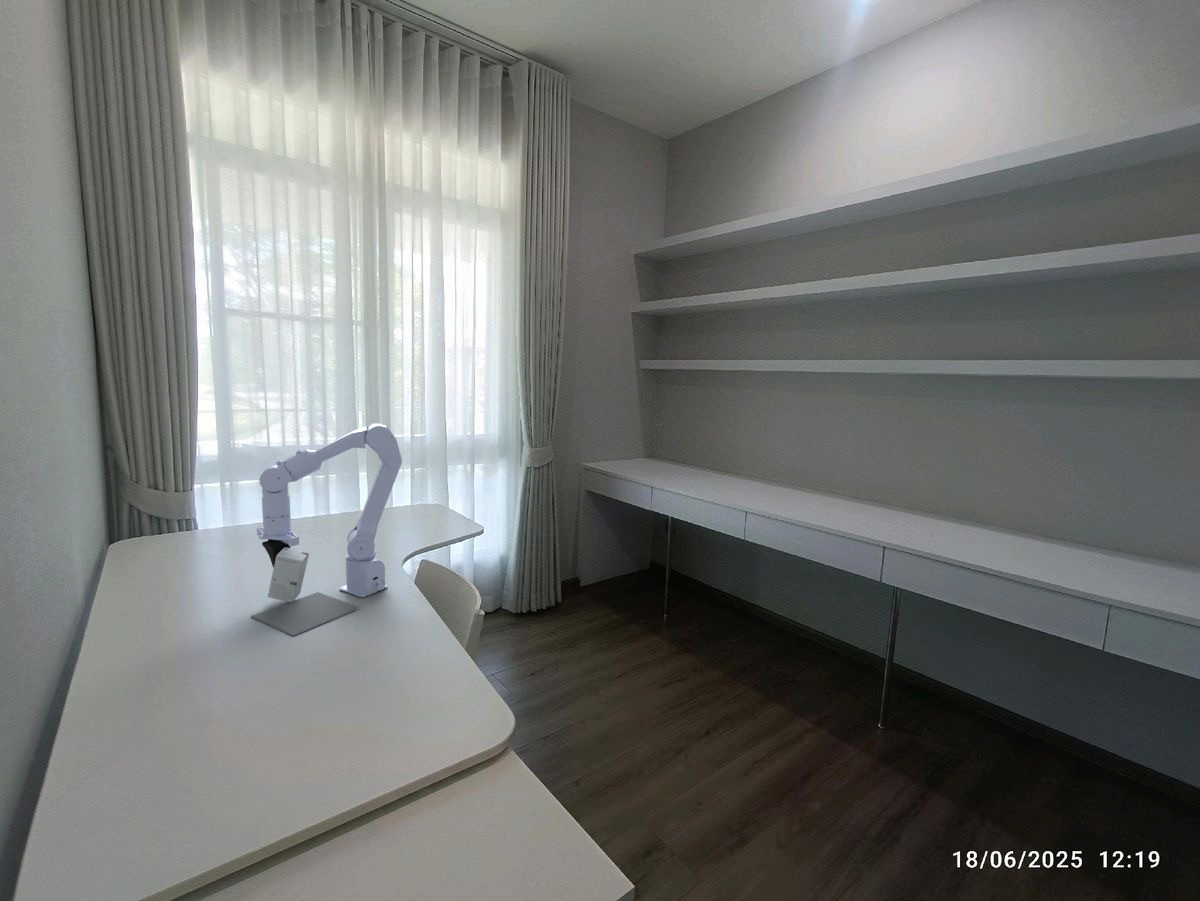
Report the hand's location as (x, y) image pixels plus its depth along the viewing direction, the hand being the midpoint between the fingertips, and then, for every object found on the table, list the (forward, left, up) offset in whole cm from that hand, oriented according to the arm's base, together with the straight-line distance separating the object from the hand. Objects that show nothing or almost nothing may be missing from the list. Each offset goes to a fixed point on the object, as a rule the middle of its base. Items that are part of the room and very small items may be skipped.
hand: (278, 568), depth 126 cm
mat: (-12, +1, -8) cm, 15 cm away
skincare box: (-2, 0, -7) cm, 7 cm away
